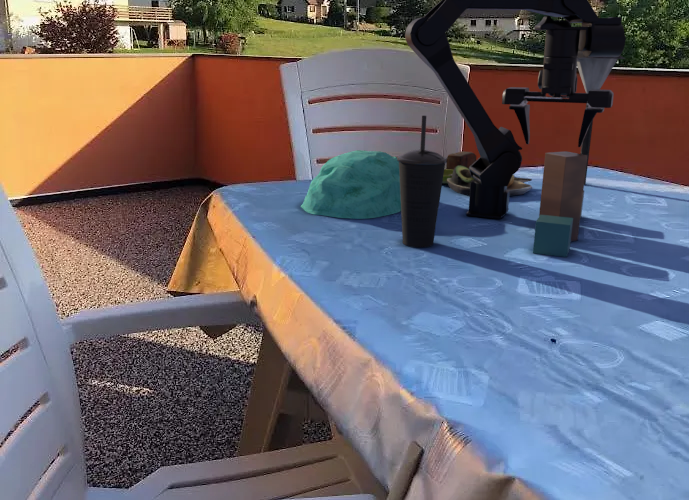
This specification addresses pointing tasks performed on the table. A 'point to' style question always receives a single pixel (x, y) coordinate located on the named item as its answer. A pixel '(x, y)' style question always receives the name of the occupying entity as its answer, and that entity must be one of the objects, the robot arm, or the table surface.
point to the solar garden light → (593, 85)
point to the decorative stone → (356, 186)
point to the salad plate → (463, 178)
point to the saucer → (447, 175)
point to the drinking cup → (420, 192)
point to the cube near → (552, 235)
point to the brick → (460, 160)
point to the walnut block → (563, 187)
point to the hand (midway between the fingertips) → (553, 145)
